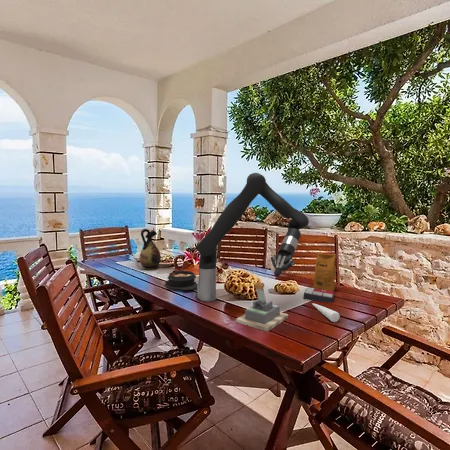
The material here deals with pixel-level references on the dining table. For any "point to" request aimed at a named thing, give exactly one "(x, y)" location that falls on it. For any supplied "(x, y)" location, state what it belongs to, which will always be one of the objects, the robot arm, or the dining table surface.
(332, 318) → the unicorn horn
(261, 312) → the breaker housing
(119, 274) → the dining table surface
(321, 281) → the coffee package
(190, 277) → the casserole
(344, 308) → the dining table surface
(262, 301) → the lever
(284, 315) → the mounting board
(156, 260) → the ceramic jug
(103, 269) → the dining table surface
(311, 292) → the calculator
